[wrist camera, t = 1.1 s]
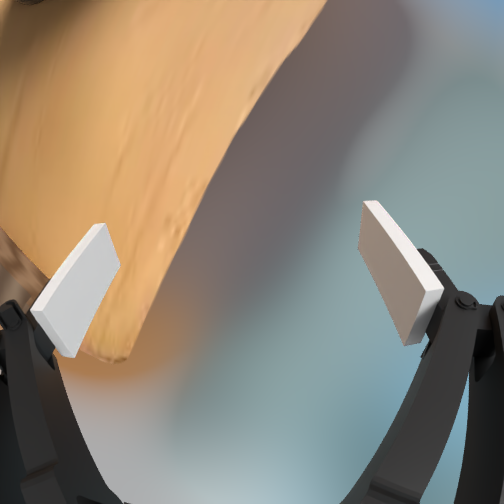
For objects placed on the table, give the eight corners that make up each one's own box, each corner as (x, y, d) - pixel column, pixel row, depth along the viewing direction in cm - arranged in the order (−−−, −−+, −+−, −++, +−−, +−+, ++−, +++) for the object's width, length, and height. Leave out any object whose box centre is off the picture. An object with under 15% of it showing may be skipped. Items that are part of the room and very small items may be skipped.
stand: (-17, 258, 38) (-39, 278, 31) (-2, 223, 36) (-28, 242, 29) (32, 310, 44) (14, 335, 37) (51, 281, 42) (30, 307, 35)
